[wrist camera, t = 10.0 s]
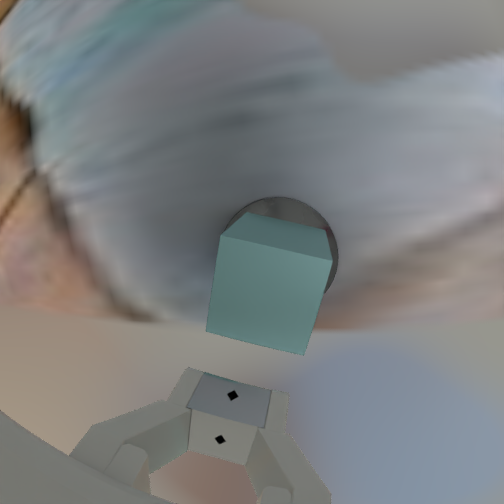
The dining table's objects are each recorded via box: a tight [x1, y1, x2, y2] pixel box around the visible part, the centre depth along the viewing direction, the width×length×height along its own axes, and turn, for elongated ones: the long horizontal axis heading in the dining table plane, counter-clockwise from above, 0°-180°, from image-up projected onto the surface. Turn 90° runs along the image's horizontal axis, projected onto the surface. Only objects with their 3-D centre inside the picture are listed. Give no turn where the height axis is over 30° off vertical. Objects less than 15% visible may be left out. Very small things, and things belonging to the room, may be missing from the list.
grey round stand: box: [224, 197, 338, 293], centre depth 19 cm, size 8×8×6 cm
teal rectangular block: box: [206, 212, 333, 355], centre depth 18 cm, size 5×5×7 cm
